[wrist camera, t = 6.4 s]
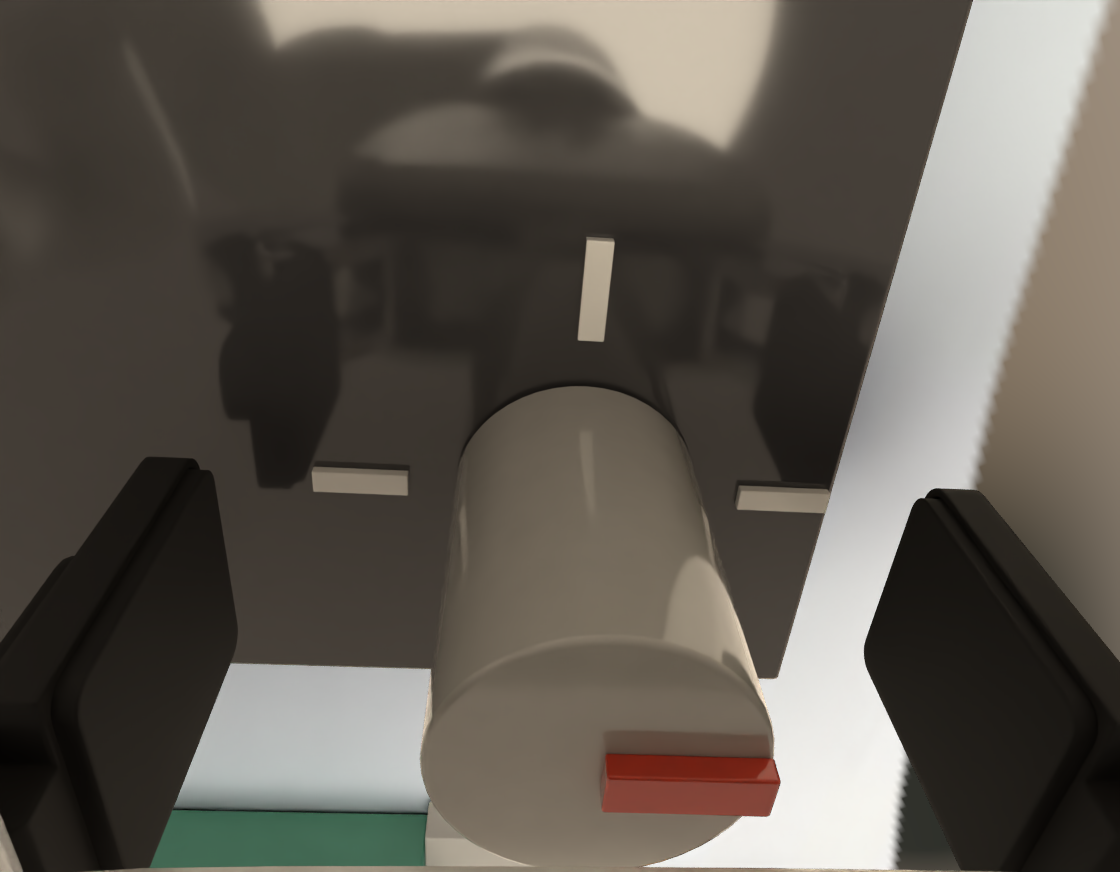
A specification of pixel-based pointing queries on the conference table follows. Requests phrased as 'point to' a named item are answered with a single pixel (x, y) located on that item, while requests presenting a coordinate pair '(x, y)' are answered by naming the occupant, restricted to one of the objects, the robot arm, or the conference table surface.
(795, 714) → the conference table surface
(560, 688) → the dial
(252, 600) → the hob
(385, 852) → the teal post
